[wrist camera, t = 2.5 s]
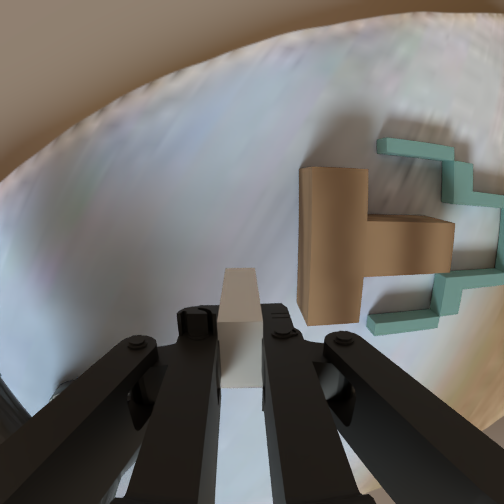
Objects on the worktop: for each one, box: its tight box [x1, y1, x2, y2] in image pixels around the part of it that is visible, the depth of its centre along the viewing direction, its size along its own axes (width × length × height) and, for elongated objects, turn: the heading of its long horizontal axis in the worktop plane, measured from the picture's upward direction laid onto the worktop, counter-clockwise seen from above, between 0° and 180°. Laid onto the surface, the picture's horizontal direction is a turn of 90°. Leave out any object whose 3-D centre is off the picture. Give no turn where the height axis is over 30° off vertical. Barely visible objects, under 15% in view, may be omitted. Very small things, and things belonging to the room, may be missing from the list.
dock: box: [366, 138, 504, 336], centre depth 32 cm, size 22×21×2 cm
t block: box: [297, 167, 455, 326], centre depth 30 cm, size 15×14×6 cm
